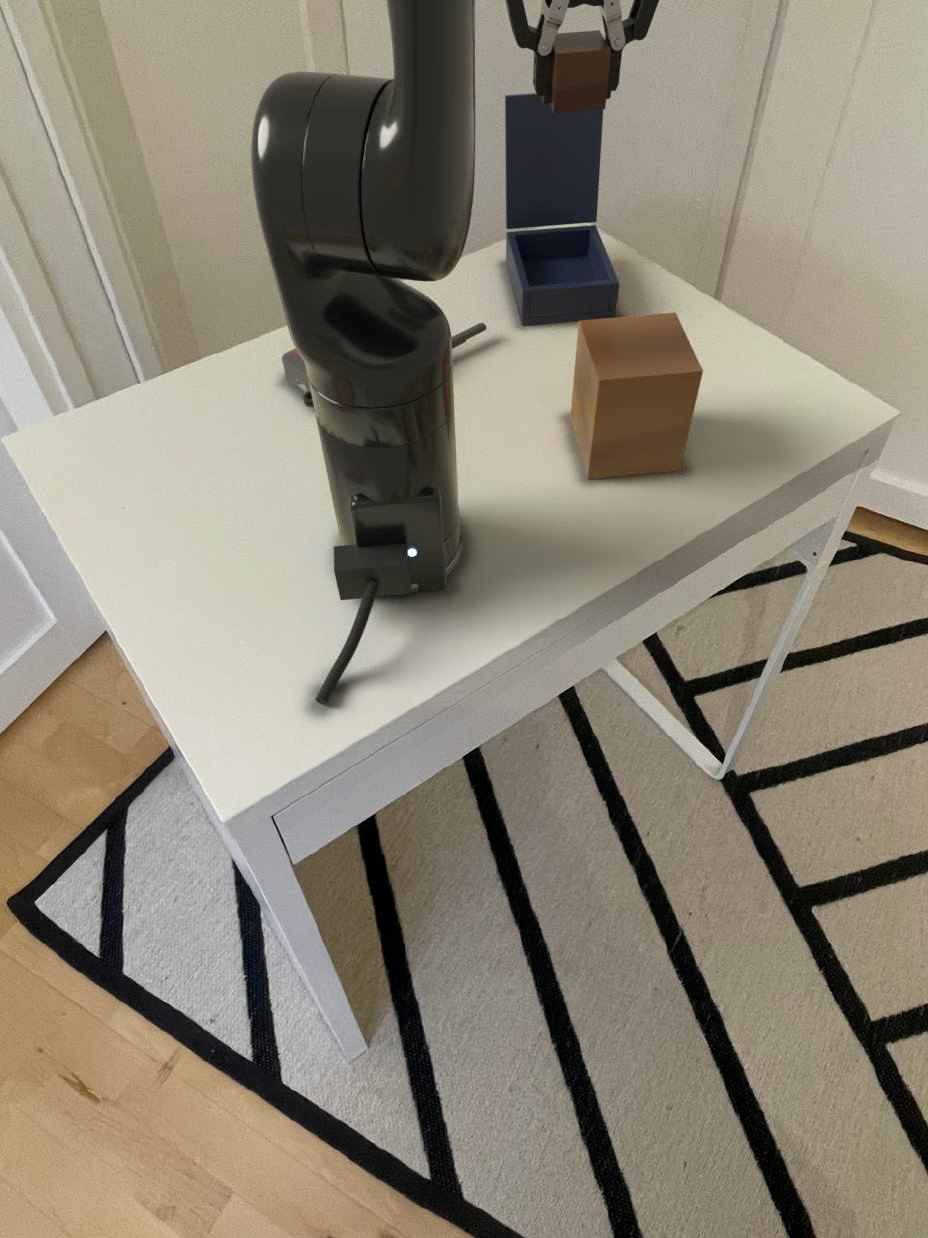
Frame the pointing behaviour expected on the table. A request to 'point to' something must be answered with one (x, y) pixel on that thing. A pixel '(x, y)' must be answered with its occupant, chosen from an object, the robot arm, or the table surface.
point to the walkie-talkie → (298, 373)
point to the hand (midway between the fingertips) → (575, 96)
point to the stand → (633, 394)
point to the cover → (550, 163)
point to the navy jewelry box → (561, 275)
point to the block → (580, 72)
